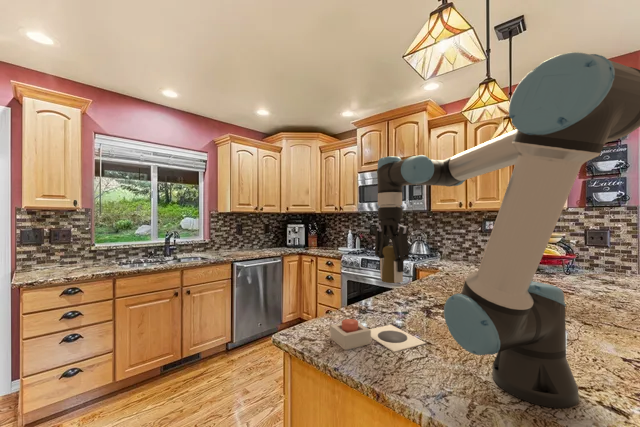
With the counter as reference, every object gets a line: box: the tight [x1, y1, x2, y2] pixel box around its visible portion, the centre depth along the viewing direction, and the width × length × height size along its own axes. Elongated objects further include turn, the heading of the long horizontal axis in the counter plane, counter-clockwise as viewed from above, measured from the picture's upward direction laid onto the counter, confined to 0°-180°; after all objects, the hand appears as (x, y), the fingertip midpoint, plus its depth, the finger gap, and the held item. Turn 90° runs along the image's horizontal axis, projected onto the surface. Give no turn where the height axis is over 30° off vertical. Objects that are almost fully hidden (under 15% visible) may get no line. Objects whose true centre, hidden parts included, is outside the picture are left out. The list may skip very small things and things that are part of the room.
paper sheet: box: [368, 324, 427, 353], centre depth 89 cm, size 16×12×1 cm
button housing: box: [329, 322, 372, 351], centre depth 87 cm, size 9×9×4 cm
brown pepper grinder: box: [381, 245, 401, 284], centre depth 89 cm, size 6×6×11 cm
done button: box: [341, 318, 359, 333], centre depth 87 cm, size 5×5×3 cm
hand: (391, 279), depth 89 cm, fingers closed on brown pepper grinder, 6 cm apart
